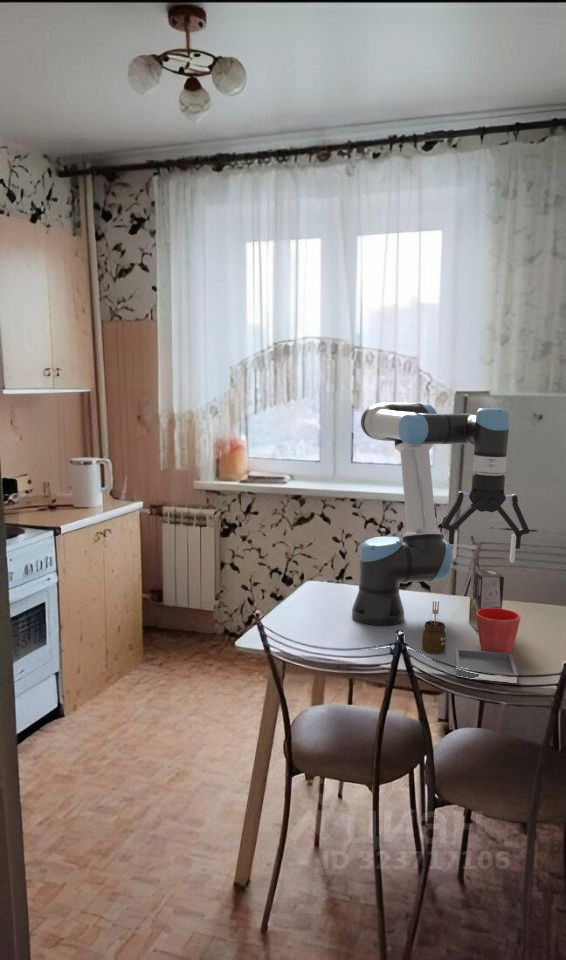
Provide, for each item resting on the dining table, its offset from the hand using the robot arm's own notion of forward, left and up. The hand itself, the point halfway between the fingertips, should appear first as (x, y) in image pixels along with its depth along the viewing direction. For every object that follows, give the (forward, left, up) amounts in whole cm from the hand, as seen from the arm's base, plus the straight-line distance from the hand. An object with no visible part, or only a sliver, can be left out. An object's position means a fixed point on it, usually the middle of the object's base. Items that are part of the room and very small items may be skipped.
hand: (482, 559), depth 170 cm
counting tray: (+1, -6, -26) cm, 26 cm away
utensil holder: (-11, +4, -26) cm, 28 cm away
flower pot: (+5, +8, -26) cm, 28 cm away
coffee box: (+3, +25, -26) cm, 36 cm away
